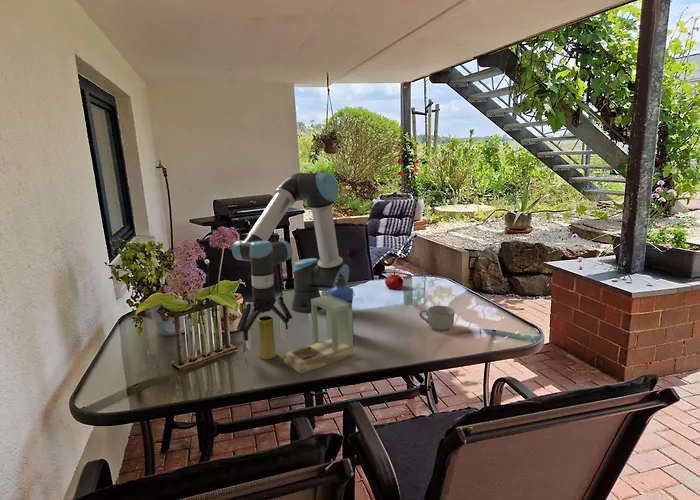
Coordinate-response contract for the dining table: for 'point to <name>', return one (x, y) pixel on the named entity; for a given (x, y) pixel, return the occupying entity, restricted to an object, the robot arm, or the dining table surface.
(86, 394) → the dining table surface
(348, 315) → the pale green stool
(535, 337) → the dining table surface
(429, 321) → the teacup
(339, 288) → the water bottle
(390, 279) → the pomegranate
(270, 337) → the vase
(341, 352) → the socket block
